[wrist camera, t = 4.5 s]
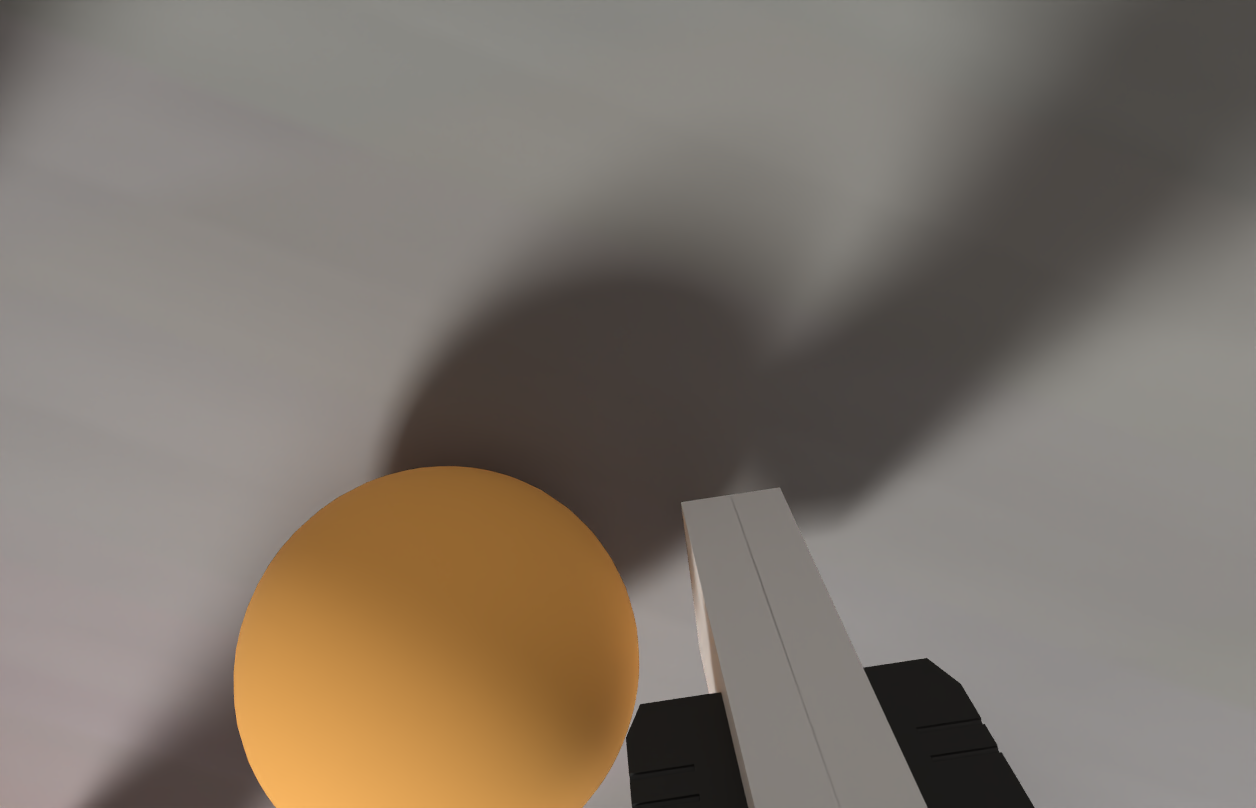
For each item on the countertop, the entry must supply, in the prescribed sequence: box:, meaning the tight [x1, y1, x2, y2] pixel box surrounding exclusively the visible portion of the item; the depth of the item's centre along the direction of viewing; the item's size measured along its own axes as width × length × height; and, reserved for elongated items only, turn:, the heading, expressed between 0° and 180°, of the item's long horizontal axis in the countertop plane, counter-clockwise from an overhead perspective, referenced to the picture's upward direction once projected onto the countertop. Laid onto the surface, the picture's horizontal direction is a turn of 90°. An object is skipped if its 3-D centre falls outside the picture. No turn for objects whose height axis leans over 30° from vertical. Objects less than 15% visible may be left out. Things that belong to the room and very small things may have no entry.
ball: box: [234, 466, 639, 808], centre depth 13 cm, size 6×6×6 cm
